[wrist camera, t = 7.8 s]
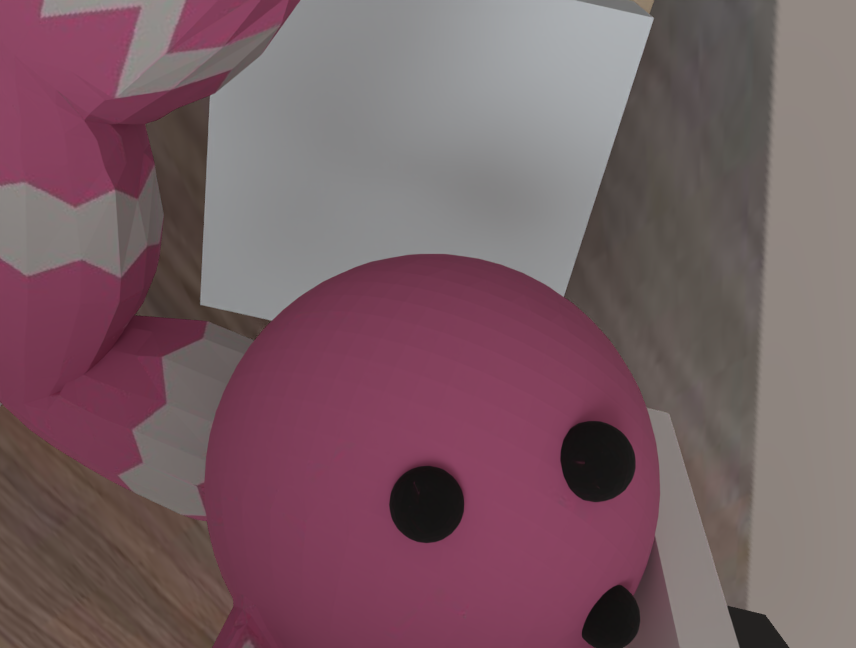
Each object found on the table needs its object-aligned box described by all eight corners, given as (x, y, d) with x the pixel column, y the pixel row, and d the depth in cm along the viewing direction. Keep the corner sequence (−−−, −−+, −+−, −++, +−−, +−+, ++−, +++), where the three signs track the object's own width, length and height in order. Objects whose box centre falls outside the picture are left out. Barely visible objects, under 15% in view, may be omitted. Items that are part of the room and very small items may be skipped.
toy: (859, 212, 11) (740, 1029, 7) (492, 326, 19) (314, 763, 14) (241, -502, 7) (-1151, 396, 3) (74, 4, 14) (-374, 479, 10)
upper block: (237, 257, 30) (200, 304, 26) (262, -83, 24) (218, -80, 20) (534, 323, 30) (537, 379, 26) (633, 1, 24) (653, 18, 20)
